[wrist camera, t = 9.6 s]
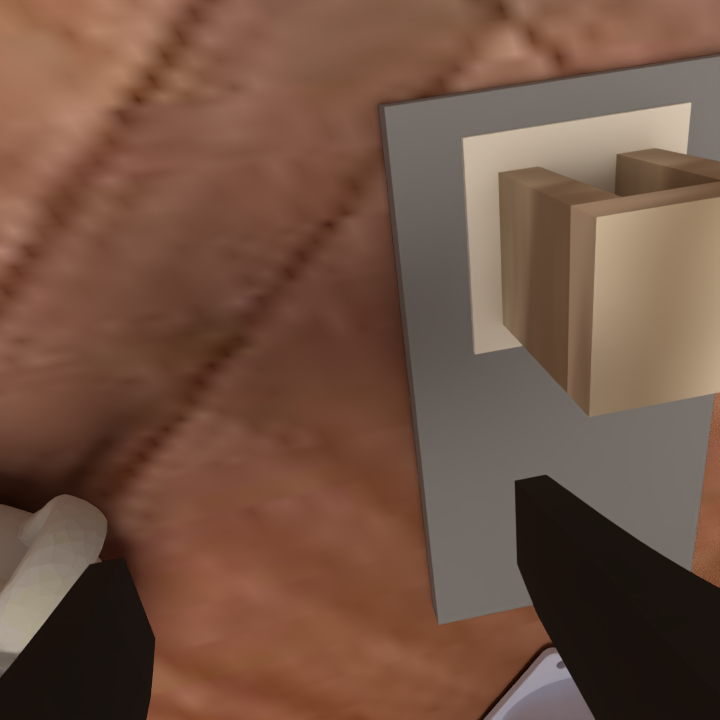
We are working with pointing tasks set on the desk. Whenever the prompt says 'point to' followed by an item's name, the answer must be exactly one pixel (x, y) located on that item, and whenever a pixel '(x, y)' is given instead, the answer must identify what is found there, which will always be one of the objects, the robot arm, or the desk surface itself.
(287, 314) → the desk surface
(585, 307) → the tan u-shaped block
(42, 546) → the teacup
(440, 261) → the board
